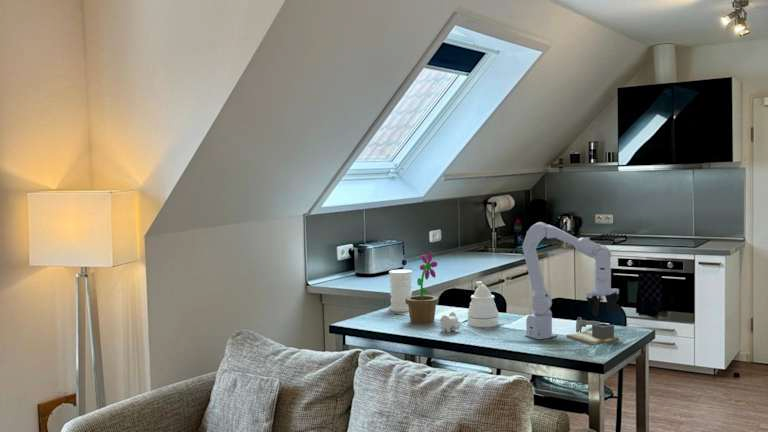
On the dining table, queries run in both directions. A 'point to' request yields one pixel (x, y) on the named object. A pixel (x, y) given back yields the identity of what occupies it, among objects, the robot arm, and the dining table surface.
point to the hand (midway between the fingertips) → (602, 314)
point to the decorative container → (400, 289)
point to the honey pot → (482, 308)
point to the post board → (589, 337)
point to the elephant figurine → (449, 323)
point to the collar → (603, 331)
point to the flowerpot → (423, 297)
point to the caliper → (583, 323)
